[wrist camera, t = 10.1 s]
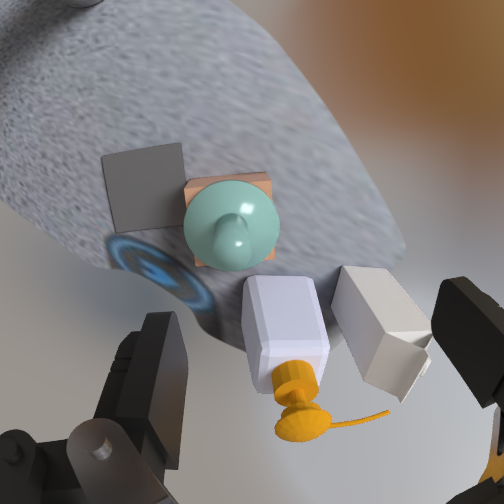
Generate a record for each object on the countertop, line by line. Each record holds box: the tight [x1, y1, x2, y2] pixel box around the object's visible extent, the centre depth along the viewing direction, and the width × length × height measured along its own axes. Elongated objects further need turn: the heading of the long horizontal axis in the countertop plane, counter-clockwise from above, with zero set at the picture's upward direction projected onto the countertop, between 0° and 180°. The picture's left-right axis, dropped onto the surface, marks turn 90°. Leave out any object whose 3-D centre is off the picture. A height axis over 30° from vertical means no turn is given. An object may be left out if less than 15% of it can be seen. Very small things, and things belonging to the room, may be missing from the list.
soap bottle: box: [241, 275, 390, 442], centre depth 34 cm, size 10×14×22 cm
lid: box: [184, 179, 280, 271], centre depth 31 cm, size 10×10×7 cm
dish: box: [184, 172, 275, 267], centre depth 36 cm, size 9×9×5 cm
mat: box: [102, 143, 187, 233], centre depth 36 cm, size 10×10×1 cm
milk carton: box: [331, 266, 433, 403], centre depth 36 cm, size 7×7×19 cm
